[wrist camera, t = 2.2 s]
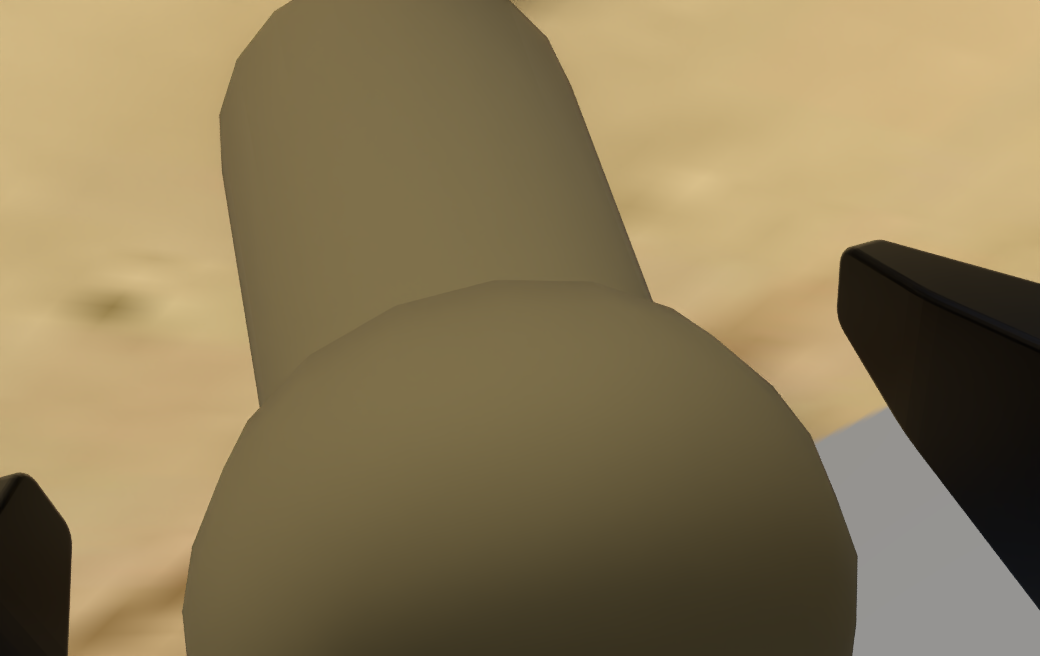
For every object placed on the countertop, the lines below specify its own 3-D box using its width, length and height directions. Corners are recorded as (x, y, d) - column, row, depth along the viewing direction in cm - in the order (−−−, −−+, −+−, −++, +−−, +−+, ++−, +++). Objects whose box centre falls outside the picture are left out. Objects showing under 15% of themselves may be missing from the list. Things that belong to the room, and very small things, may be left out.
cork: (640, 167, 15) (1099, 728, 7) (390, 358, 17) (496, 1053, 8) (428, -128, 12) (787, 218, 3) (133, 138, 13) (-190, 923, 4)
